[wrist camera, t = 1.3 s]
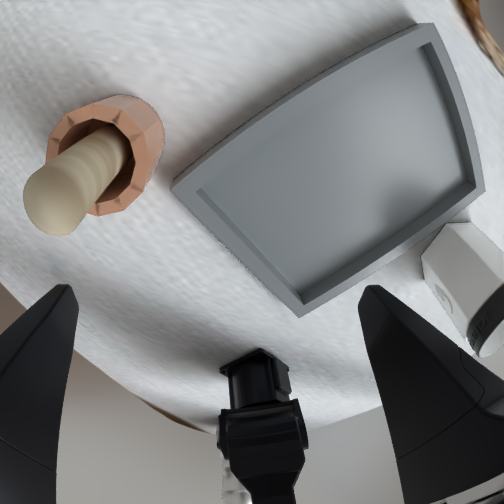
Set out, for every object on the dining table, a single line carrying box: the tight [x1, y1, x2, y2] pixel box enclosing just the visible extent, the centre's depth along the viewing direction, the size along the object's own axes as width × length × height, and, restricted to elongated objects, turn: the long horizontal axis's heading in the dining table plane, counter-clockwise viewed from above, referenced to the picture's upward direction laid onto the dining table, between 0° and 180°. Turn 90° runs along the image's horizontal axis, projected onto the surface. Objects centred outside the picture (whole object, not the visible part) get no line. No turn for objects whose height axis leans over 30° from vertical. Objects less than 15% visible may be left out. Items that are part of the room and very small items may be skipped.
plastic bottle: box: [216, 425, 252, 504], centre depth 37 cm, size 6×7×20 cm
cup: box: [45, 94, 165, 216], centre depth 15 cm, size 6×6×5 cm
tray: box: [170, 23, 485, 318], centre depth 20 cm, size 22×16×2 cm
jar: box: [421, 222, 504, 358], centre depth 22 cm, size 9×8×12 cm
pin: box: [23, 123, 134, 236], centre depth 13 cm, size 3×3×10 cm
